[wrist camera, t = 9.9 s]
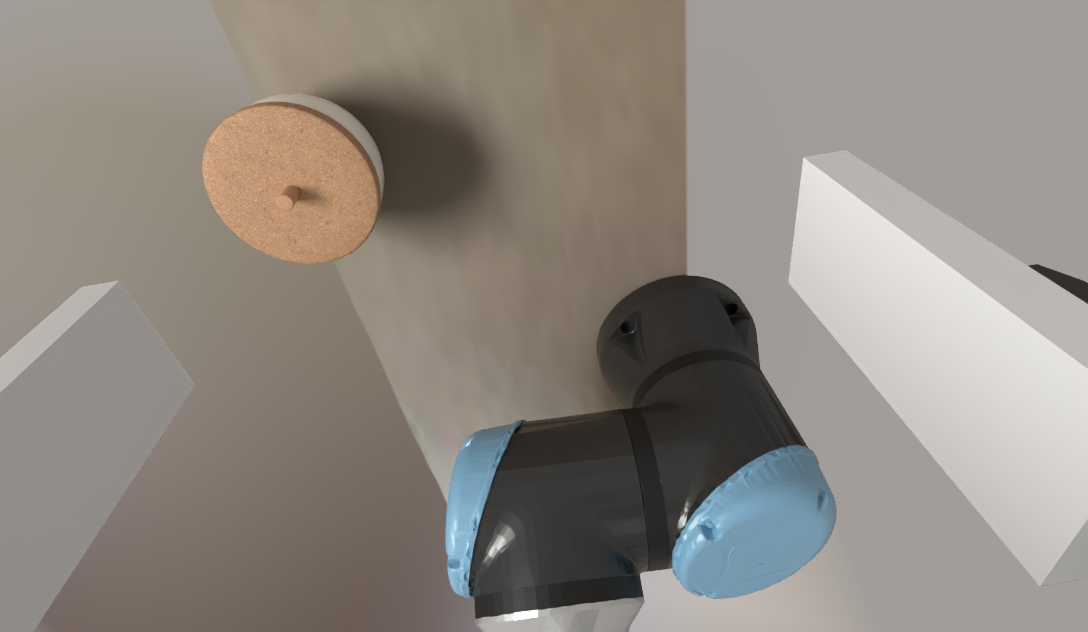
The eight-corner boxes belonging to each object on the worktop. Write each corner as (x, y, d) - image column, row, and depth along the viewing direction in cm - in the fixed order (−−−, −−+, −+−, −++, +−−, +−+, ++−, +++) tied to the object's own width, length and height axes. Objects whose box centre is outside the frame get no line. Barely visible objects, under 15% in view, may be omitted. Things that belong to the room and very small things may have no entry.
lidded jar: (318, 239, 46) (283, 302, 38) (214, 126, 40) (147, 174, 32) (424, 174, 43) (409, 228, 35) (328, 44, 37) (286, 75, 30)
